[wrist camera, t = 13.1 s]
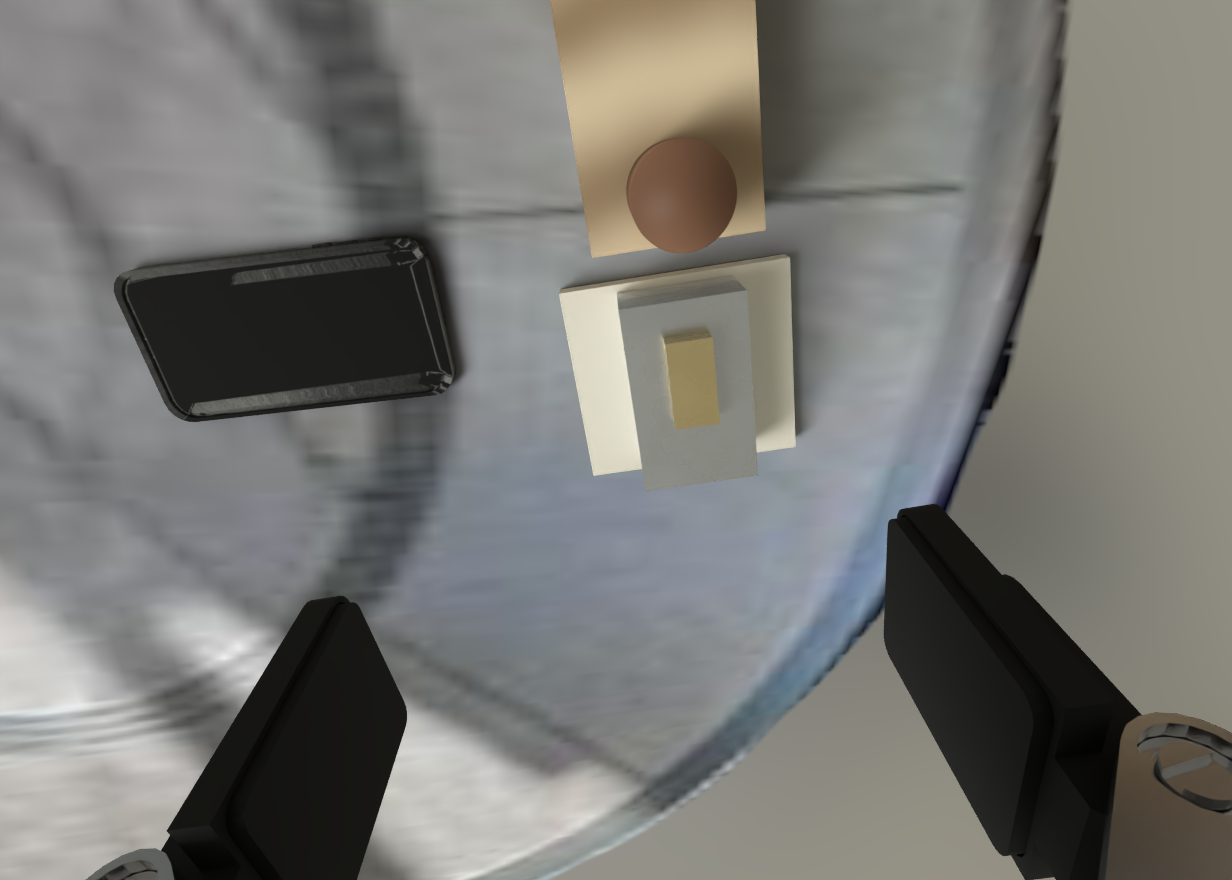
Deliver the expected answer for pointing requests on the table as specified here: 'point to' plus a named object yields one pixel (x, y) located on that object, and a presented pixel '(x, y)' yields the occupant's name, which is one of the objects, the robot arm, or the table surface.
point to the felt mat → (606, 369)
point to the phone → (290, 329)
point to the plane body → (663, 120)
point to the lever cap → (690, 381)
